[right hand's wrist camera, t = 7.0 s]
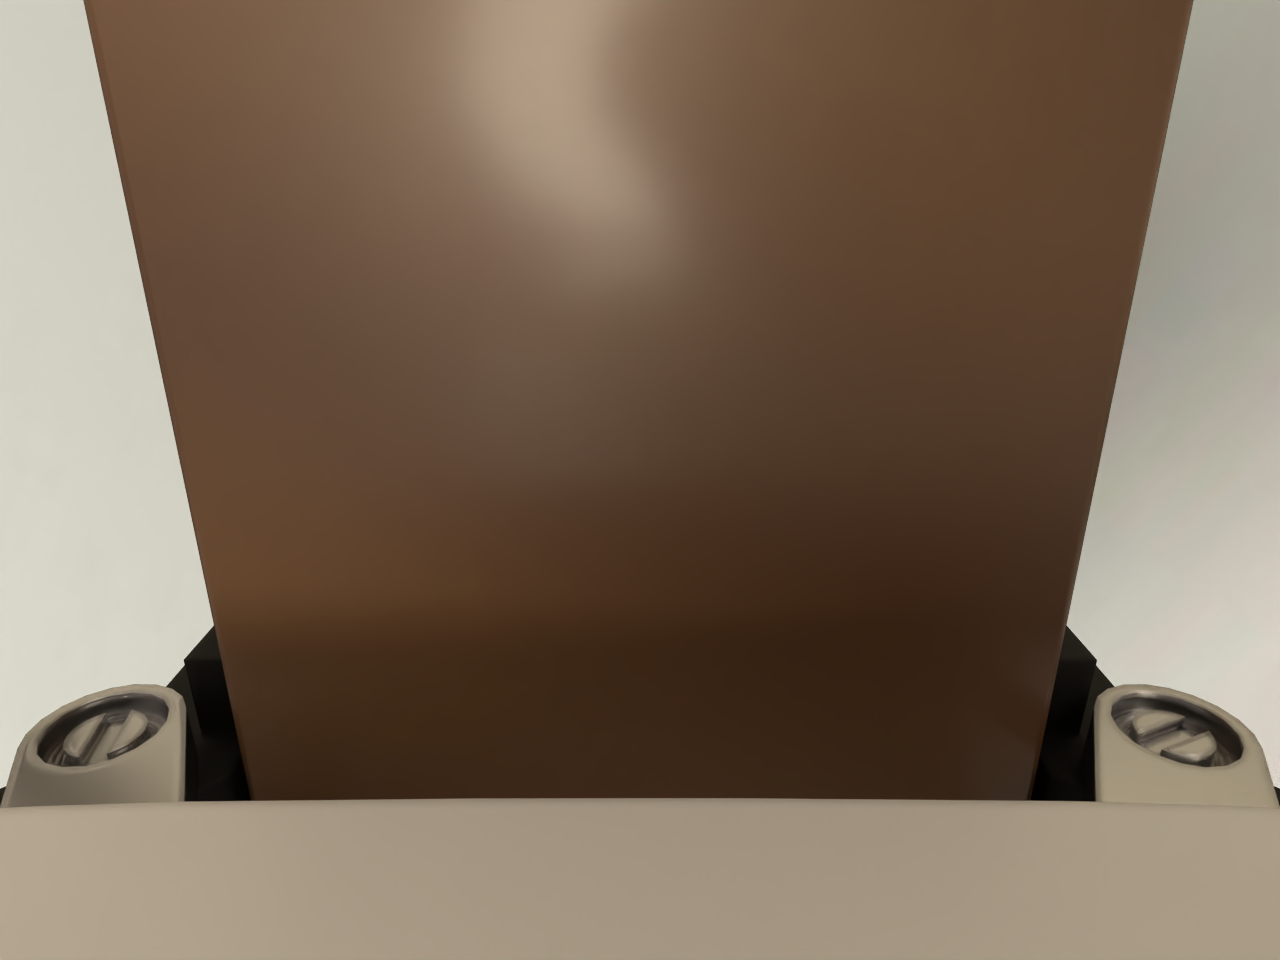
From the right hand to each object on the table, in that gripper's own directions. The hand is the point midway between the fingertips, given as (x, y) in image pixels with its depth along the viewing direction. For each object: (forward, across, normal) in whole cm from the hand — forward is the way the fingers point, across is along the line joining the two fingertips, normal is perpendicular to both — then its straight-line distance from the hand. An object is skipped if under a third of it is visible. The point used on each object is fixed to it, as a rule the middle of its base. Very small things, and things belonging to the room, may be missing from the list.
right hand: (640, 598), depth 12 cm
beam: (+2, 0, -32) cm, 33 cm away
